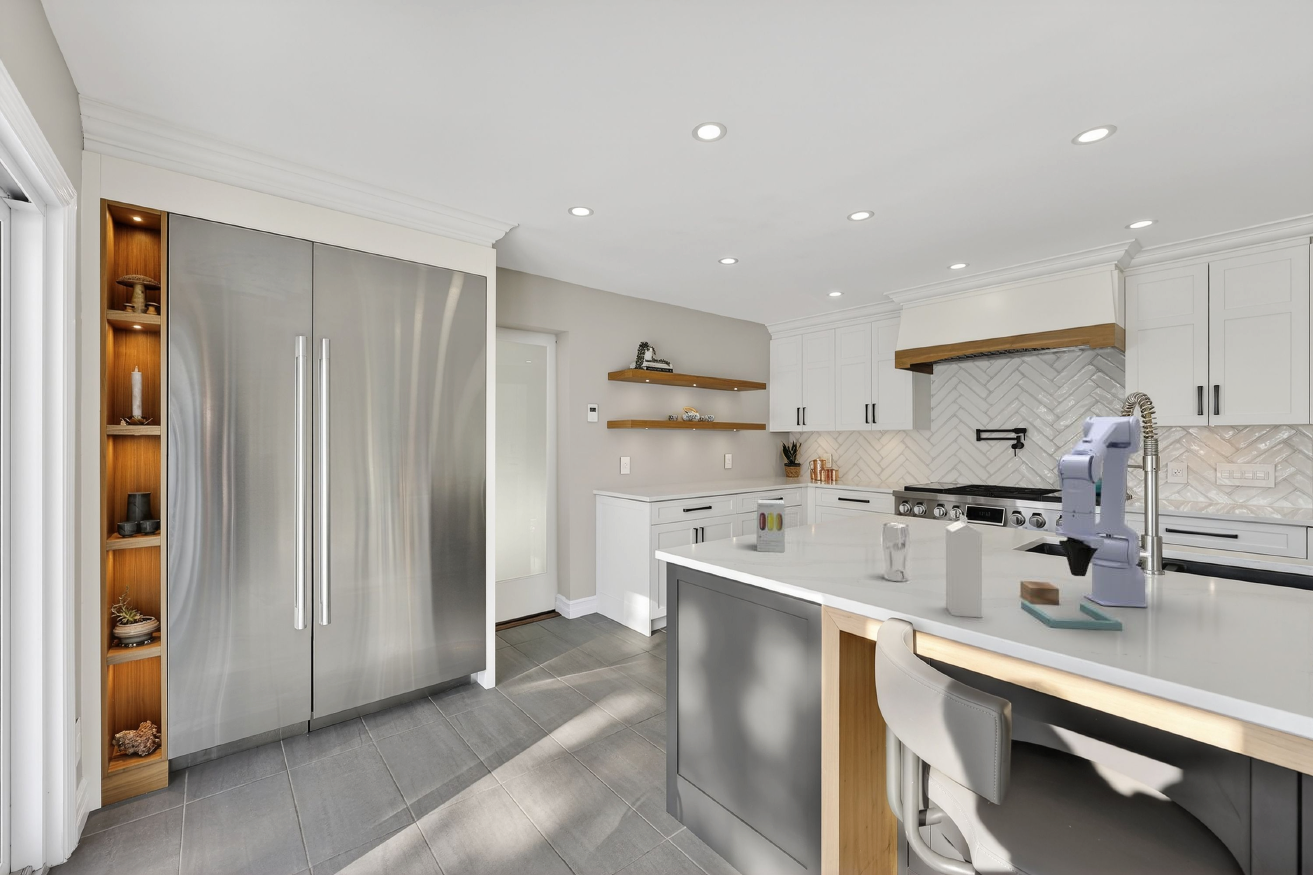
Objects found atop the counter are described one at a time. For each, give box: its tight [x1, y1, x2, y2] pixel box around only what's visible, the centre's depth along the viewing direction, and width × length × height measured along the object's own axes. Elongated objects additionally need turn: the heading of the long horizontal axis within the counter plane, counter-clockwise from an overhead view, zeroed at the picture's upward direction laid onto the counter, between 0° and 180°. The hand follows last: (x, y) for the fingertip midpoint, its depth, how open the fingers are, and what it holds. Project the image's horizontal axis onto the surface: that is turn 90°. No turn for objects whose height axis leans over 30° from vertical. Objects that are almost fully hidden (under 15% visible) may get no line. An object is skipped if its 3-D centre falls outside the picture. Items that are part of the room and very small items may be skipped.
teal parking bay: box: [1020, 600, 1123, 631], centre depth 125 cm, size 13×13×2 cm
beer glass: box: [881, 522, 911, 583], centre depth 158 cm, size 7×7×15 cm
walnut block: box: [1019, 580, 1060, 606], centre depth 138 cm, size 6×6×4 cm
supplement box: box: [756, 499, 786, 553], centre depth 198 cm, size 10×9×17 cm
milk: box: [945, 513, 983, 618], centre depth 129 cm, size 6×6×22 cm
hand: (1078, 575), depth 121 cm, fingers closed
